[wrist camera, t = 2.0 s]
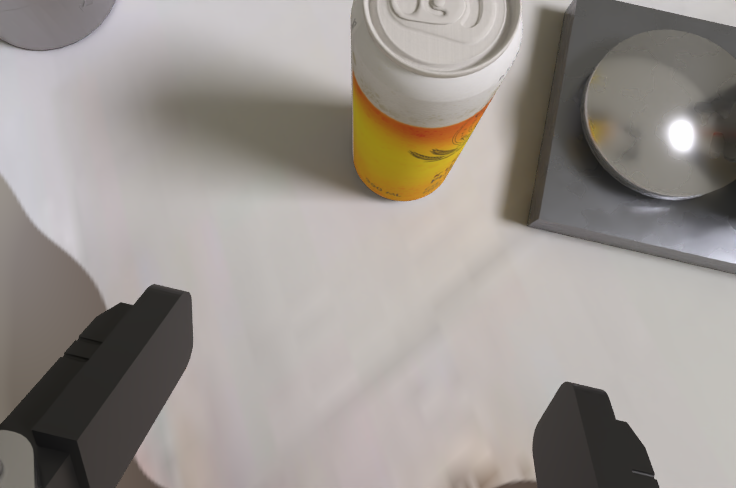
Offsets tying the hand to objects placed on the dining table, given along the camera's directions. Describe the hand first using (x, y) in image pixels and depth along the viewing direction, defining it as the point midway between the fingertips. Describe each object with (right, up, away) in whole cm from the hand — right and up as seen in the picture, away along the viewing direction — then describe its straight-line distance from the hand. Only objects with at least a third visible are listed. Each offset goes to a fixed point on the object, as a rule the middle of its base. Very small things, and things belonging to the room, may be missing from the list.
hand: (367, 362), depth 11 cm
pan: (+17, +10, +18) cm, 27 cm away
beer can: (+2, +8, +21) cm, 22 cm away
